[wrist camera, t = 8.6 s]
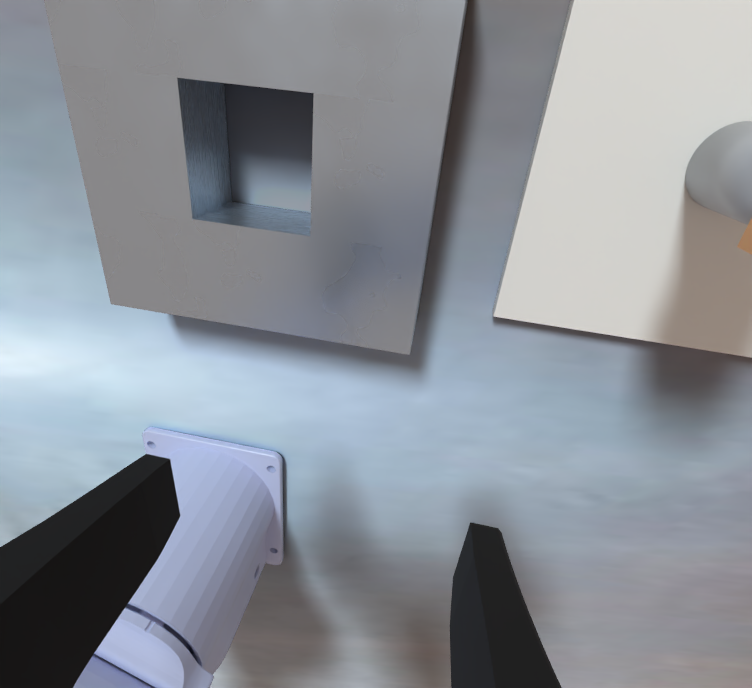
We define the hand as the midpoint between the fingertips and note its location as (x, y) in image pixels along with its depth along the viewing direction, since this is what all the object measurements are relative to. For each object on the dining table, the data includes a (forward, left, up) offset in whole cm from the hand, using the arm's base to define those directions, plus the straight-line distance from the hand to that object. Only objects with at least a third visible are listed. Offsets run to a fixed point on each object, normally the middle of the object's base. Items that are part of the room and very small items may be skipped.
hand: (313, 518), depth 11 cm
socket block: (+7, +5, -10) cm, 13 cm away
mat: (+8, -10, -10) cm, 17 cm away
